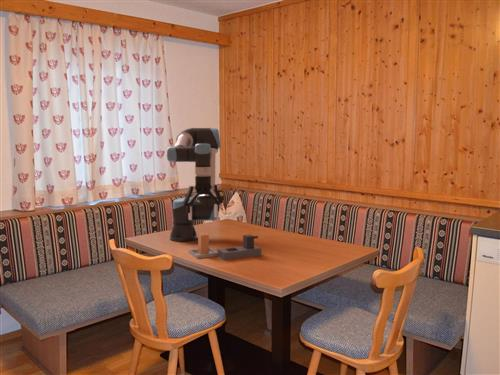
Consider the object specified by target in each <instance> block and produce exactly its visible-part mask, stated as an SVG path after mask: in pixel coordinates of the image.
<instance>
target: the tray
mask: <svg viewBox="0 0 500 375" xmlns="http://www.w3.org/2000/svg"><path fill="white" fill-rule="evenodd" d="M188 253H189V255H191V256H192V257H194V258H195V259H204V258H210V257H212V258H214V257H218V251H217V250H215V249H213V248H211V247H210V246H209V254H202V255H199V254H198V248H195V249H193V248H192V249H189V250H188Z"/></svg>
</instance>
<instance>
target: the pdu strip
mask: <svg viewBox="0 0 500 375" xmlns="http://www.w3.org/2000/svg"><path fill="white" fill-rule="evenodd" d="M255 239H259V236H258V235H252V234H243V236H242V245H241V246H240V245H239V246H231V247H224V248H223V247H222V248H217V252H218V256H217V257H218V258H220V259H221V260H223V261H228V260H237V259H243V258H244V259H245V258H251V257H253V258H257V257H262V248H261V247H260V246H257V245H255Z"/></svg>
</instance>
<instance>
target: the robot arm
mask: <svg viewBox="0 0 500 375" xmlns="http://www.w3.org/2000/svg"><path fill="white" fill-rule="evenodd" d="M219 149H221V139H220V131H219V129H218V128H211V127H190V128H187V129H184V130H182V131H180V132H179V133H178V134H177V135H176V138H175V144H174V146H168V147H167V150H166V157H167V161H168V162H173V163H186V162H188V163H194V164H195V166H194V174H195V177H194V178H195V179H194V180H195V181H194V182H195V184H194V185H189V186H188V191H187V193H186V195H185V197H179V198H176V199H174V201H172V208H171V209H172V228H171V232H170V235H169V240H171V241H174V242H192V241H194V240H196V239H197V240H198V234H197V231H196V228H195V225H194V222H195V221H209V222H210V221H217V220H218V218H219V212H220V209H221V208H220V207H221V204H223V203H224V200H223V198H222V196H221V194H220V192H219V190H218V185H217V184H216V154H217V153H218V152H219ZM194 190H195V192H194V193H193V191H194ZM192 194H193V195H192Z"/></svg>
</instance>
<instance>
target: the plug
mask: <svg viewBox="0 0 500 375" xmlns="http://www.w3.org/2000/svg"><path fill="white" fill-rule="evenodd" d="M209 237H210V236H209V234H207V233H206V232H205V233H198V234H197V246H198V247H197V249H198V254H199V255H202V254H209V247H210V246H209V245H210V243H209V242H210V240H209Z"/></svg>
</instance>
